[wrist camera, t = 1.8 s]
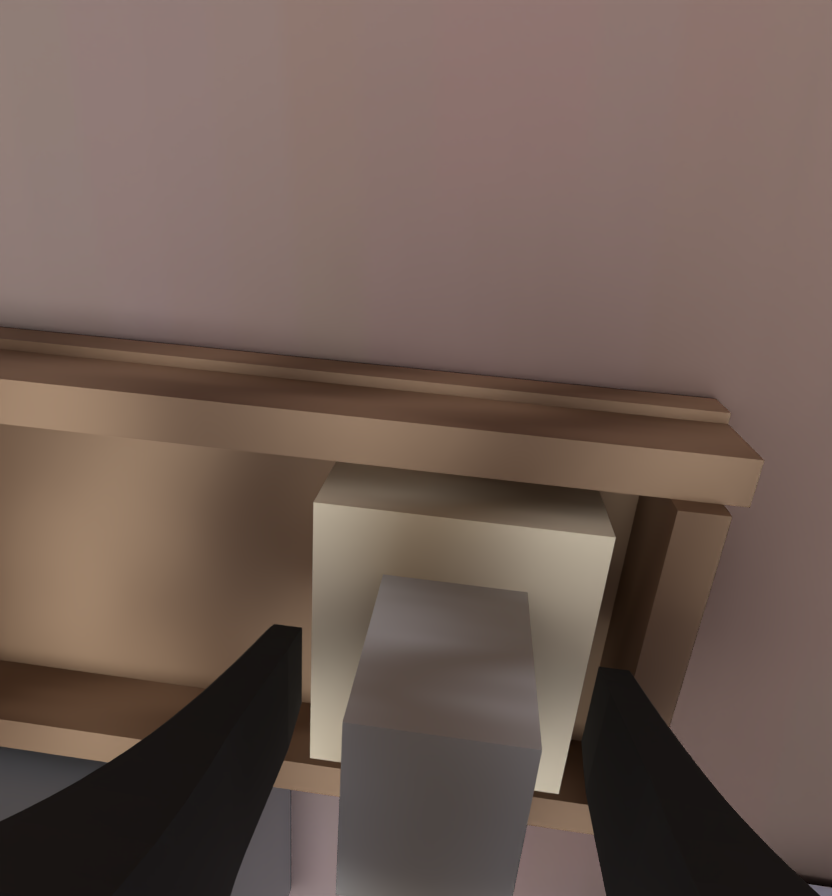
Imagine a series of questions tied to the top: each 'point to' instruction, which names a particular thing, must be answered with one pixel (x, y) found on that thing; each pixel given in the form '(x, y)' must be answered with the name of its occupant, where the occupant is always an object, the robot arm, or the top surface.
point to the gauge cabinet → (41, 774)
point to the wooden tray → (303, 522)
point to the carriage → (447, 666)
